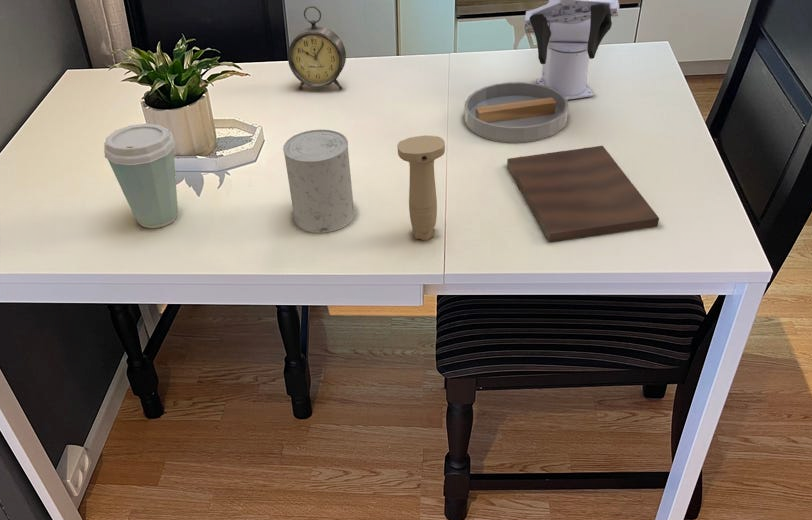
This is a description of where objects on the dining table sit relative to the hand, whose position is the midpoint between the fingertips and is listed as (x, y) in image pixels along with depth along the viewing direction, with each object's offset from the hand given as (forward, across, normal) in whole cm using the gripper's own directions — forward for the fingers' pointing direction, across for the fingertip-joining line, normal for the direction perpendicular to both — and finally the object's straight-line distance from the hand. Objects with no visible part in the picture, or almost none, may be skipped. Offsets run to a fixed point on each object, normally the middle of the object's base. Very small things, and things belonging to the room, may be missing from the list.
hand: (565, 57), depth 125 cm
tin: (+2, -12, +14) cm, 19 cm away
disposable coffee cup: (+35, -57, -19) cm, 69 cm away
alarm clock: (-6, -52, +10) cm, 53 cm away
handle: (+34, -16, -8) cm, 38 cm away
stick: (+1, -12, +14) cm, 18 cm away
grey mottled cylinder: (+31, -32, -10) cm, 46 cm away
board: (+22, +3, +4) cm, 22 cm away
